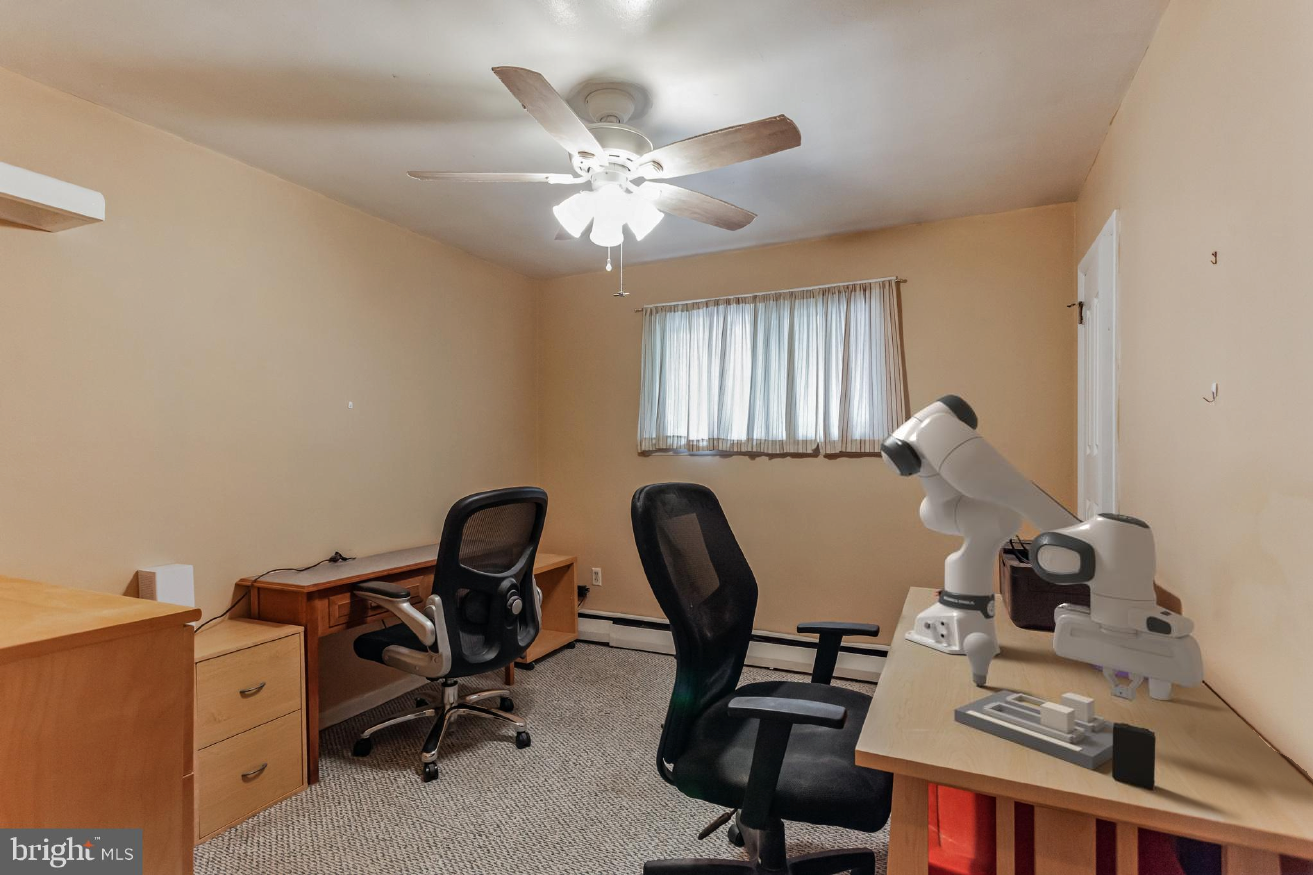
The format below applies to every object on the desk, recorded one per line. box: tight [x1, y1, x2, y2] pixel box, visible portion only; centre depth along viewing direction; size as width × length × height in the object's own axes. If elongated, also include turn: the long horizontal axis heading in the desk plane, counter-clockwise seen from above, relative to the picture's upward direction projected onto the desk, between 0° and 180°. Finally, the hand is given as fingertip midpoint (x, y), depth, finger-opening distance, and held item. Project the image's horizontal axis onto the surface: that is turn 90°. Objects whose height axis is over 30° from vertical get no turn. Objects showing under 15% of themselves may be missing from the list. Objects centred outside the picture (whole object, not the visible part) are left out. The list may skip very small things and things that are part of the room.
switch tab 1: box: [1041, 701, 1075, 734], centre depth 106 cm, size 4×3×4 cm
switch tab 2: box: [1060, 692, 1096, 723], centre depth 111 cm, size 4×3×4 cm
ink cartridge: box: [1111, 722, 1157, 791], centre depth 94 cm, size 5×2×8 cm, turn 50°
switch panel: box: [953, 689, 1114, 771], centre depth 112 cm, size 22×18×3 cm
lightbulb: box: [963, 633, 996, 687], centre depth 134 cm, size 6×6×11 cm
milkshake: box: [1147, 677, 1172, 701], centre depth 129 cm, size 4×5×10 cm
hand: (1123, 697), depth 105 cm, fingers closed
